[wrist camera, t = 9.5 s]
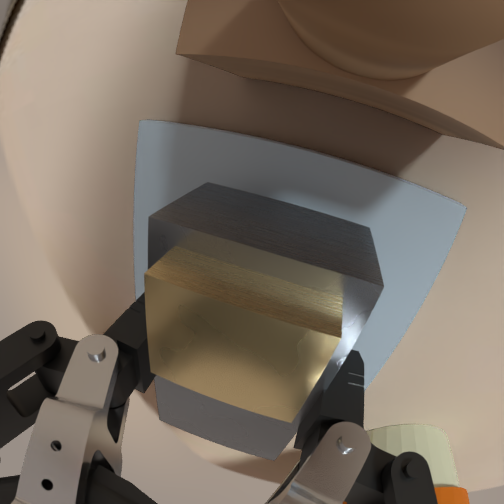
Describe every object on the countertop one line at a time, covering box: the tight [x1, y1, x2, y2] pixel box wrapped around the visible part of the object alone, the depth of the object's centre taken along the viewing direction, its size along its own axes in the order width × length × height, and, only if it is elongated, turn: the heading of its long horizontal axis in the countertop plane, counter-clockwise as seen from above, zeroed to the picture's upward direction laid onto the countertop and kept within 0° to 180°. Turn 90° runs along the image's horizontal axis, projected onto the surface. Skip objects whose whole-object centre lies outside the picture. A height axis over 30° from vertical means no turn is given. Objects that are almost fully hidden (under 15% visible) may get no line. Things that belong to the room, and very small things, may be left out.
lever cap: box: [144, 182, 384, 461], centre depth 9 cm, size 9×5×4 cm, turn 169°
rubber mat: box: [134, 119, 467, 391], centre depth 12 cm, size 12×12×1 cm
